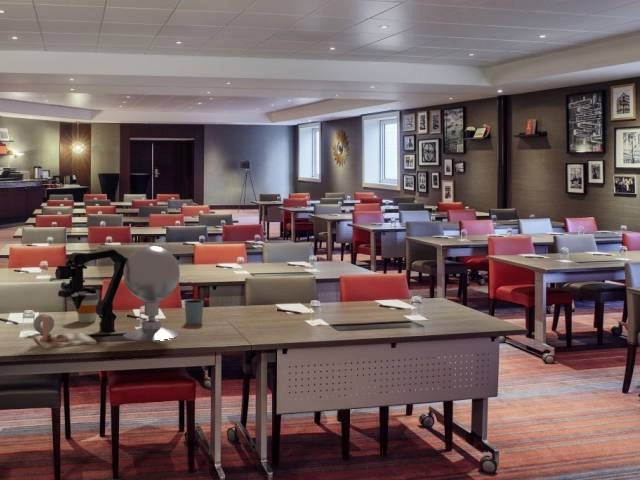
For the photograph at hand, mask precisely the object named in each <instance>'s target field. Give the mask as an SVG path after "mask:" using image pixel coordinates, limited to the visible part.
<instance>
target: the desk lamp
mask: <svg viewBox="0 0 640 480" xmlns="http://www.w3.org/2000/svg"><path fill="white" fill-rule="evenodd" d="M127 258H128V259H127V261H126V263H125V266H124V271H123V277H122V278H123V281H124V284H125V286H126V288H127V290H128V291H129V292H130V293H131V295H133V296H134V297H136V298H137V299H139V300H141V301H142V302H144V316H145V317H147V319H144V320H142V323H141V324H142V325H141V327H138V328H136V329H133V330H130V331H128V332H126V334H125V333H124V334H123V335H122V336H123V338H125V339H127V340H132V341H138V342H139V341H141V342H151V341H152V342H156V341H155V340H160V341H165V340H164V339H168V340H170V339H169V338H173V339H175V338H174V337H176V336H178V335H179V336H180V333H179V332H177V331H174V330H171V329H168V328H166V327H162V323H161V320H159V319H157V318H156V317H157V316H159V315H160V313H159V311H160V310H159V308H160V307H159V305H160V304H159V303H160V302H161V301H162V300H164V299H165V298H167V297H169V296H170V295H172V293H173V292H174V291H175V290H176V288H177V287H178V284H179V281H180V277H181V276H180V275H181V272H180V266H179V263H178V260H177V259H176V257H175V256H174V255H173V254H172V252H170V251H169V250H167V249H165V248H164V247H161V246H157V245H146V246H142V247H140V248H138V249H136V250H135V251H134V252H132V253H131V254H130V255H129V256H128V257H127ZM178 333H179V334H178ZM179 336H178V337H179ZM176 338H177V337H176Z"/></svg>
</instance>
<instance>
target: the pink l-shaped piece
mask: <svg viewBox="0 0 640 480" xmlns="http://www.w3.org/2000/svg"><path fill="white" fill-rule="evenodd" d="M42 327H43V334H42V336H43V337H41V338H40V341H47V335H50V332H49V316H43V321H42ZM66 339H67V336H63V338H57V336H55V337H51V341H66Z"/></svg>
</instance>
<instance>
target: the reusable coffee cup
mask: <svg viewBox="0 0 640 480" xmlns="http://www.w3.org/2000/svg"><path fill="white" fill-rule="evenodd" d="M85 295H87V296H85V298H84V300H83V301H82V303H81V305H80V308H79V309H76V308H75V309H76V313H77V318H78V319H77V320H78V322H79V323H83V324H85V323H86V322H90V323H94V322H93V321H95V322H96V321H97V315H98V314H97V313H96V308H95V307H96V306H97V303H98V301H99V300H100V293H99V292H97V291H96V293H95V294H91V293H90V292H88V293H85ZM86 324H87V323H86Z"/></svg>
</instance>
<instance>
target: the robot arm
mask: <svg viewBox="0 0 640 480" xmlns="http://www.w3.org/2000/svg"><path fill="white" fill-rule="evenodd" d="M107 258H109V259H110V260H111V261H112V262H113V263H114V264H113V274H112V277H111V278H110V282H109V284H108V286H107V290H106V292H105V294H104V297H103V298H102V299H101V300H100V299H99V300H98V303H97V306H96V307H95V308H96V313H97V315H98V317H99V319H100V321H99V331H100V332H102V333H113V331H114V332H116V330H115V320H116V319H117V316H118V315H116V314H115V313H114V312H113V309H114V299H115V297H116V295H117V291H118V289H119V286H120V284H121V281H122V278H124V277H123V271H124V266H125V263H126V261H127V259H128V258H129V257H125V256H124V255H122V254H121V253H119V252H118V251H117V250H115V249H113V248H108V249H103V250H97V251H91V252H81V251H80V252H72V253H71V254H70V256H69V258H68V260H67V261H66V263H65V265H61V264H60V265H57V267H56V269H55V273H54V274H55V278H56V280H57V281H59V280H68V279H69V281H68V283H67V281H65V282H61V285H60V288H61V290H58V293H57V295H58V296H57V297H59V298H60V297H61V298H71V300H72V302H73V304H74V307H75V309H79V308H80V305H81V303H82V301H83V300H84V298H85V296H87V295H85V293H88V292H90V293H91V294H95V293H96V292H97V289H96V288H95V287H94V286H93V287H92V286H84V283H86V280H85V279H84V270H86V269H88V267H87V265H85V264H86V263H88V262H91V261H96V260H100V259H102V260H103V259H107Z"/></svg>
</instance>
